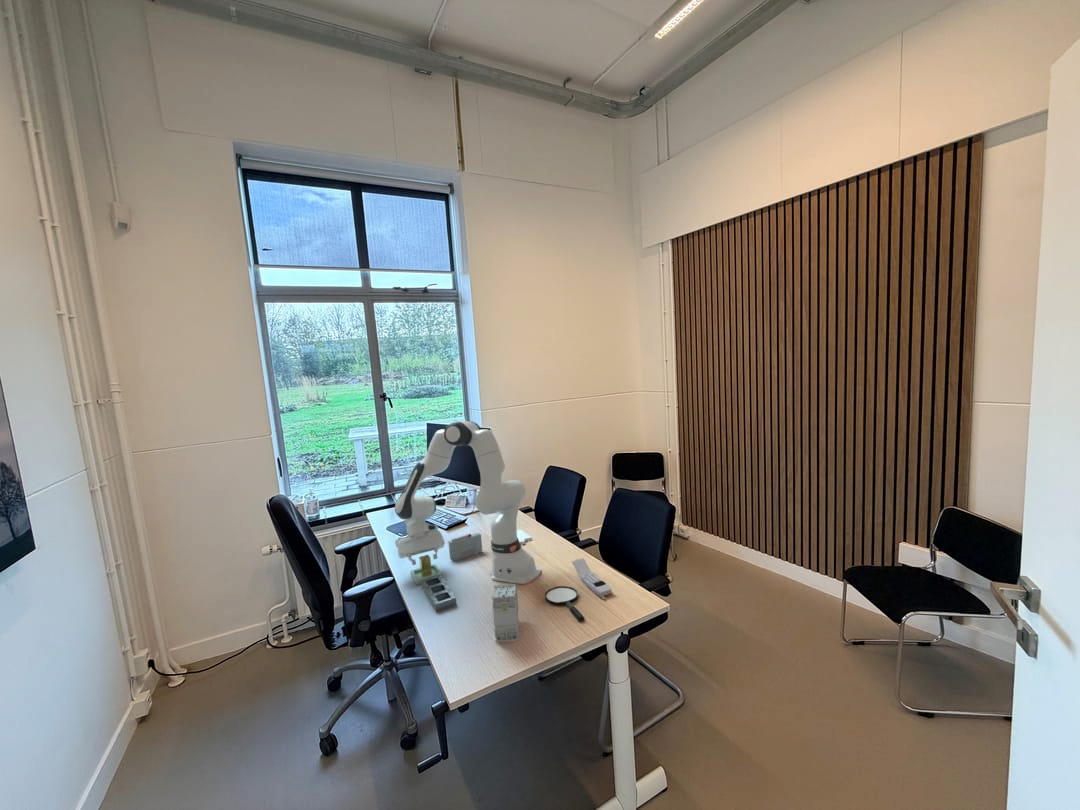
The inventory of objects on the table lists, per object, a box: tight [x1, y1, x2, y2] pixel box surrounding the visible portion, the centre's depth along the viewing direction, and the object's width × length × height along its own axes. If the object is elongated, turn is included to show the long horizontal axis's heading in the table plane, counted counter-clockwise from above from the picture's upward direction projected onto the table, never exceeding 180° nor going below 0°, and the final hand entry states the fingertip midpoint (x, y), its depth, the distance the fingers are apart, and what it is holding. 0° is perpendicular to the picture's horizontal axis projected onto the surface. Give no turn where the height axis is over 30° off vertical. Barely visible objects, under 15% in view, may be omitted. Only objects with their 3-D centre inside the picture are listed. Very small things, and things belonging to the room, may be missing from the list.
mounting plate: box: [517, 529, 533, 546], centre depth 224 cm, size 18×13×2 cm
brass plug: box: [418, 554, 432, 578], centre depth 189 cm, size 4×4×8 cm
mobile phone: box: [571, 557, 612, 601], centre depth 173 cm, size 6×6×25 cm
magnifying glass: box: [544, 585, 585, 623], centre depth 160 cm, size 12×24×2 cm, turn 21°
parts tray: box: [410, 563, 443, 586], centre depth 189 cm, size 11×11×2 cm
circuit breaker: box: [491, 583, 520, 643], centre depth 147 cm, size 8×14×15 cm, turn 2°
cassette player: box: [447, 532, 483, 562], centre depth 208 cm, size 16×3×10 cm, turn 122°
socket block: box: [421, 575, 458, 613], centre depth 172 cm, size 22×8×3 cm, turn 29°
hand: (425, 561), depth 188 cm, fingers open, 8 cm apart
